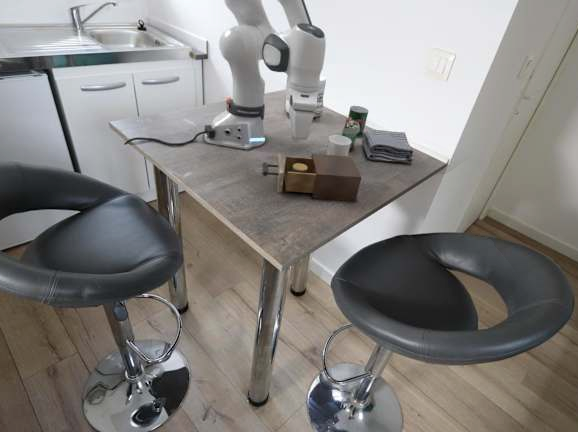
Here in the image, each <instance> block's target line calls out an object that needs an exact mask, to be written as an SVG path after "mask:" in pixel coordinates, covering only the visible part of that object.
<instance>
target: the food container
mask: <svg viewBox="0 0 578 432" xmlns="http://www.w3.org/2000/svg"><path fill="white" fill-rule="evenodd" d="M359 132H360V126H359V123H358V122H356V121H354V120H352V119H348V117H346V120H345V124H344V127H343V128H342V133H341V136H345V137H347V138H349V139H350V140H351V146H350V149H349V152H351V151H353V149H354V145H355V142H356V139H357V137H356V136H357V133H359Z"/></svg>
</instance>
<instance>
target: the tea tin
mask: <svg viewBox="0 0 578 432" xmlns="http://www.w3.org/2000/svg"><path fill="white" fill-rule="evenodd" d="M307 168H308V167H307V166H306V165H304V164H301V163H296V164H294V165H293V170H292V172H301V173H307Z"/></svg>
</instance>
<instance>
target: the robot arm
mask: <svg viewBox="0 0 578 432" xmlns="http://www.w3.org/2000/svg"><path fill="white" fill-rule="evenodd" d="M277 1H278V3H279V4H280V5H281V7H282V9H283V12H284V14H285V17H286V19H287V22H288V25H289V27H290V29H287V30H284V31H278V32H277V30H276V29H275V28H274V27H273V26H272V24H271V22H270V20H269V18H268V15H267V12H266V10H265V7H264V5H263V1H262V0H224V4H225V6H226V8H227V9H228V11H230V12H231V13H232V14H233V16H234V18H235V20H236V22H237V25H234V26H231V27H230V28H228V29H226V30H224V31H223V32H222V33H221V35H220V38H219V41H218V42H219V43H218V47H219V51H220V53H221V56H222V57H223V59H224V60H225V61H226V63H228V66H229V68H230V72H231V79H232V97H227V98H226V100H225V101H226V110H224V111H222V112H221V113H219V114H217V115H216V116H214V118H213V119H212V122H211V124H207V125H205V124H204V131H200V132H198V133H196V134H195V135H194V137H193V138H192V139H191V140H189V141H186V142H178V143H177V142H176V143H175V142H174V143H173V142H167V141H164V140H161V139H159V138H153V137H142V136H141V137H140V136H139V137H132V138H130V139H128V140H126V141H125V142H124V143H123V145H124V146H125V145H128V144H129V143H131V142H133V141H136V140H137V141H138V140H139V141H142V140H143V141H155V142H158V143H161V144H164V145H166V146H184V145H187V144H190V143H191V144H192V143H193V142H195V141H196V139H198V137H199V136H201V135H203V134H204V141H205V142H206V143H207V144H211V145H216V146H223V147H227V148H228V147H229V148H234V149H241V150H250V149H252V148H255V147H259V146H261V145H264V144H265V142H266V137H265V130H264V119H265V111H266V107H265V105H266V104H265V90H266V89H265V88H266V81H265V79H264V78H263V77H262V75H261V71H260V61H262V60H263V63H264V65H265V66H266V68H267V69H269V71H271V72H275V73H284V74H286V76H287V77H286V84H285V92H284V93H285V94H284V98H285V100H288V102H289V105H290V106H289V114H288V115H289V119H290V124H291V129H292V130H291V131H292V134H291V140H292V143H293V144H299V143H300V140H301V141H306V140H308V139H309V135H310V132H311V128H312V125H313V120H314V119H313V115H314V111H316V110H317V105H318V102H317V100H318V93H319V87H320V75H321V73H322V71H323V68H324V63H325V56H326V48H327V47H326V45H327V44H326V43H327V42H326V40H327V39H326V33H325V32H324V31H323V30H322V29H321V28H319V27H317V26H316V25H313V22H312V20H311V17H310V14H309V11H308V9H307V5H306V2H305V0H277Z"/></svg>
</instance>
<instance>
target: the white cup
mask: <svg viewBox="0 0 578 432" xmlns="http://www.w3.org/2000/svg"><path fill="white" fill-rule="evenodd" d="M350 146H351V140H350V139H349V138H347V137H345V136H342V134H341V135H340V134H333V135H329V136H328V142H327V148H326V155H336V156H347V157H349V153H350V151H349V149H350Z"/></svg>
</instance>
